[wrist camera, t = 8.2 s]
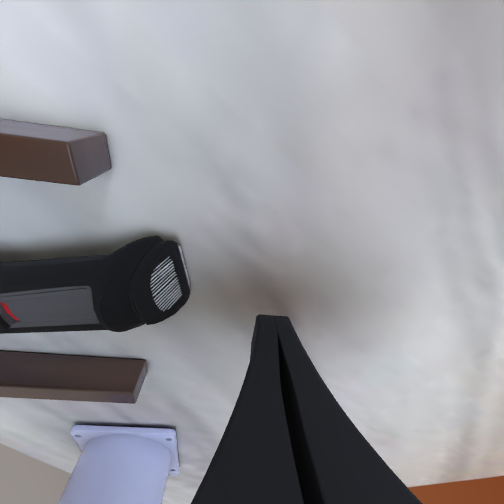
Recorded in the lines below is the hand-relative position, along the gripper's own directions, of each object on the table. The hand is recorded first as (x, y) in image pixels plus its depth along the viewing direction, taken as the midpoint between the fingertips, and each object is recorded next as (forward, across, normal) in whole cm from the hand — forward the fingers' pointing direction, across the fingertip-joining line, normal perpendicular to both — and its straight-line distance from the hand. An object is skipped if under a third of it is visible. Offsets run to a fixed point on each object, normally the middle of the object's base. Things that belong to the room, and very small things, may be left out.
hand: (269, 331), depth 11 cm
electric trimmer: (+2, +11, 0) cm, 11 cm away
